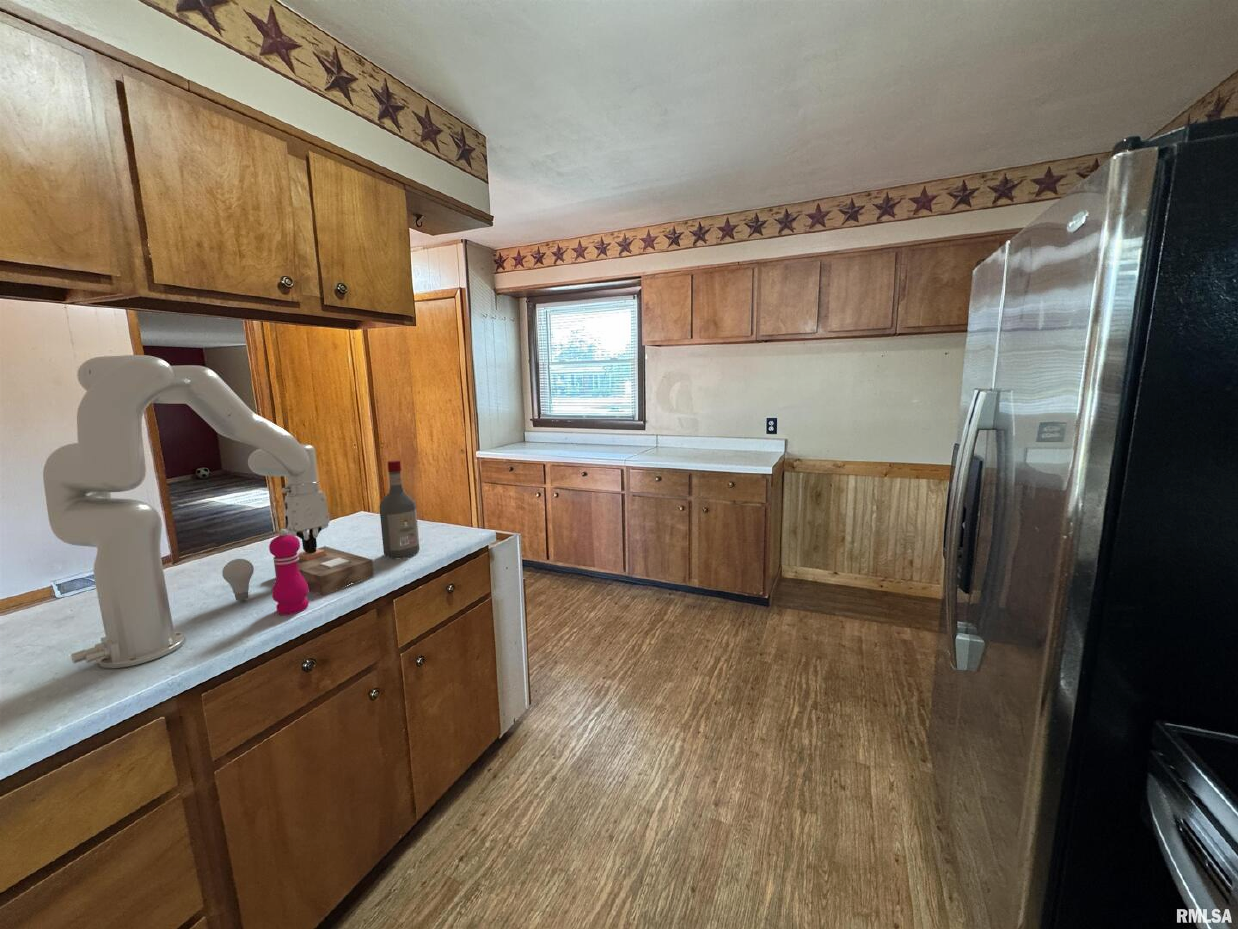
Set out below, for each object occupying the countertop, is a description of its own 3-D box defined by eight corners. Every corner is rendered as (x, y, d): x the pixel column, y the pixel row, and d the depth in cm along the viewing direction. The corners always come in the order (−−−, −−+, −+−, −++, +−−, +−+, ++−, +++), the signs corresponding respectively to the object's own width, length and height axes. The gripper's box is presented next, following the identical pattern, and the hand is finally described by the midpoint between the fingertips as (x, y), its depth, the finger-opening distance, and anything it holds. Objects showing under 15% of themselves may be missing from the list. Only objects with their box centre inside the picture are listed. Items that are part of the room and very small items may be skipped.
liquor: (422, 553, 155) (415, 460, 150) (394, 560, 148) (385, 464, 143) (409, 547, 161) (401, 458, 156) (381, 554, 154) (372, 461, 149)
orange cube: (308, 573, 135) (306, 556, 134) (299, 569, 138) (296, 553, 137) (326, 567, 139) (324, 550, 139) (317, 564, 142) (315, 548, 141)
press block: (322, 595, 124) (320, 576, 123) (276, 577, 136) (273, 560, 135) (373, 576, 136) (372, 559, 135) (326, 561, 148) (325, 546, 147)
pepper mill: (292, 617, 112) (282, 534, 109) (266, 615, 113) (255, 532, 110) (317, 603, 119) (308, 525, 116) (293, 601, 120) (283, 524, 117)
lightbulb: (225, 609, 117) (218, 565, 115) (228, 600, 122) (222, 558, 120) (256, 602, 120) (250, 560, 118) (258, 594, 125) (252, 553, 123)
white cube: (332, 584, 129) (330, 566, 129) (322, 580, 132) (320, 563, 131) (350, 578, 134) (349, 560, 133) (340, 574, 136) (338, 557, 135)
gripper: (280, 495, 127) (288, 562, 129) (337, 485, 139) (344, 546, 142) (266, 492, 130) (274, 557, 133) (323, 483, 143) (329, 542, 146)
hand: (310, 551), depth 138 cm, fingers closed
